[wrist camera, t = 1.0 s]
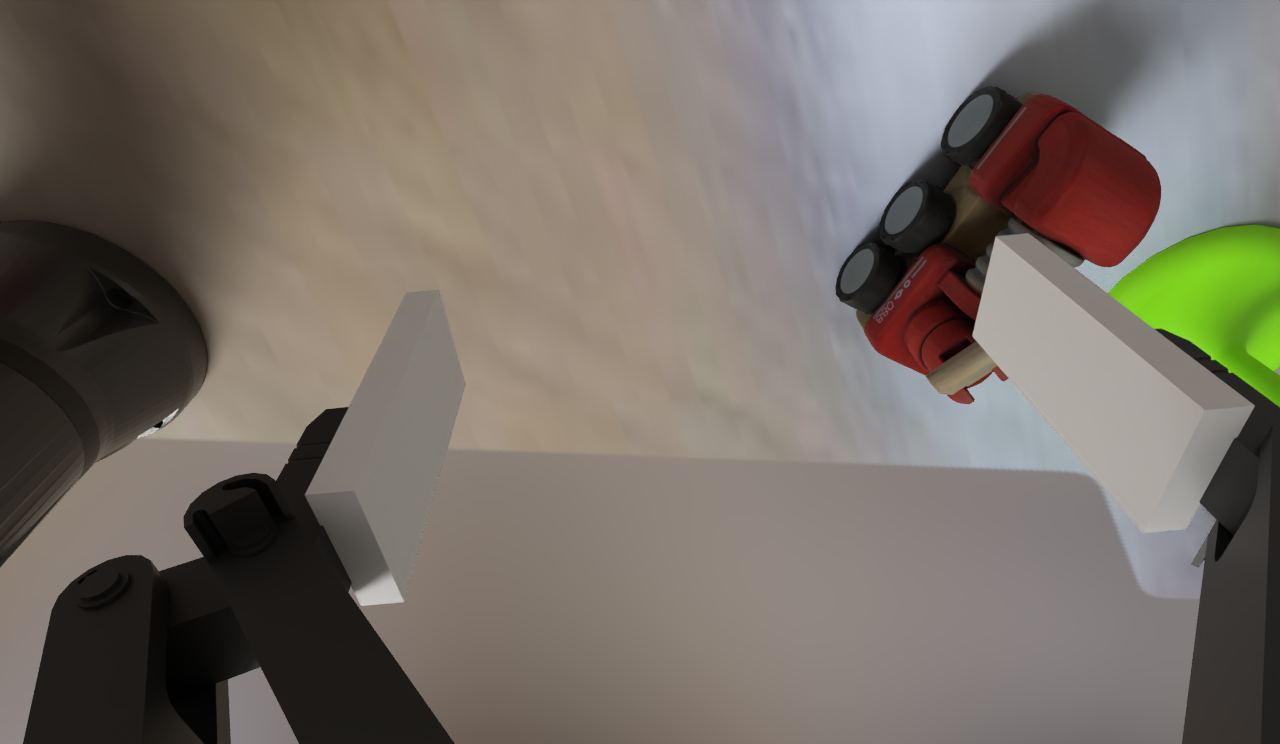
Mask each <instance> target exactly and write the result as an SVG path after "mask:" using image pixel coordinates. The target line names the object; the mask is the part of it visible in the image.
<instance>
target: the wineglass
mask: <svg viewBox="0 0 1280 744" xmlns="http://www.w3.org/2000/svg"><path fill="white" fill-rule="evenodd" d="M1108 294H1109V295H1110V296H1112V297H1113V298H1114V299H1115V300H1117V301H1118V302H1119V303H1121V304H1122V305H1123V306H1125V307H1126V308H1127V309H1129V310H1130V311H1131V312H1133V313H1134V314H1135V315H1136V316H1138V317H1139V318H1140V319H1142V320H1143V321H1144V322H1146V323H1147V324H1148V325H1150V326H1151V327H1152V328H1154V329H1160V328H1161V329H1164V330H1166V331H1168V332H1170V333H1173V334H1175V335H1177V336H1179V337H1182V338H1184V339H1186V340H1189V341H1190V342H1192V343H1193V344H1195V345H1196V346H1197V347H1199V348H1200V349H1201V350H1203V351H1204V352H1205V353H1207V354H1208V355H1210V356H1211V360H1216V361H1218V362H1219V363H1220V364H1222V365H1223V366H1224V367H1226V368H1227V369H1228V372H1229V373H1234V374H1235V375H1237V376H1238V377H1239V378H1241V379H1242V380H1244V381H1245V382H1246V383H1248V384H1249V385H1250V386H1252V387H1253V388H1254V389H1256V390H1257V391H1258V392H1260V393H1261V394H1263V395H1264V396H1265V397H1267V398H1268V399H1269V400H1271V401H1272V402H1273V403H1275V404H1276V405H1278V406H1279V407H1280V375H1278V374H1277V373H1275V371H1276V370H1277V369H1278V368H1279V367H1280V229H1279V228H1274V227H1268V226H1262V225H1257V224H1254V225H1243V226H1232V227H1222V228H1219V229H1216V230H1212V231H1209V232H1206V233H1203V234H1199V235H1196V236H1193V237H1190V238H1187V239H1185V240H1183V241H1181V242H1179V243H1177V244H1175V245H1173V246H1171V247H1169V248H1167V249H1165V250H1163V251H1161V252H1159V253H1157V254H1155V255H1153V256H1152V257H1151V258H1149V259H1148V260H1147V261H1145V262H1144V263H1142V264H1141V265H1140V266H1138V267H1137V268H1136V269H1134V270H1133V271H1132V272H1130V273H1129V274H1128V275H1126V276H1125V277H1124V278H1122V279H1121V280H1120V281H1119V282H1118V284H1117V285H1116V286H1115V287H1114V288H1113V289H1112V290H1111V291H1110V292H1109V293H1108Z"/></svg>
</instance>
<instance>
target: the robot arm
mask: <svg viewBox="0 0 1280 744" xmlns="http://www.w3.org/2000/svg"><path fill="white" fill-rule="evenodd" d="M972 337H973V338H974V339H975V340H976V341H977V342H978V344H979V345H980V346H981V347H982V348H983V349H984V350H985V352H986V353H987V354H988V355H989V356H990V357H991V359H992V360H993V361H994V362H995V363H996V364H997V365H998V367H999V368H1000V369H1001V370H1002V371H1003V372H1004V374H1005V375H1006V376H1007V377H1008V378H1009V379H1010V380H1011V382H1012V383H1013V384H1014V385H1015V386H1016V387H1017V388H1018V390H1019V391H1020V392H1021V393H1022V394H1023V395H1024V397H1025V398H1026V399H1027V400H1028V401H1029V402H1030V403H1031V405H1032V406H1033V407H1034V408H1035V409H1036V410H1037V412H1038V413H1039V414H1040V415H1041V416H1042V417H1043V418H1044V420H1045V421H1046V422H1047V423H1048V424H1049V425H1050V427H1051V428H1052V429H1053V430H1054V431H1055V432H1056V433H1057V435H1058V436H1059V437H1060V438H1061V439H1062V440H1063V442H1064V443H1065V444H1066V445H1067V446H1068V447H1069V448H1070V450H1071V451H1072V452H1073V453H1074V454H1075V455H1076V457H1077V458H1078V459H1079V460H1080V461H1081V462H1082V463H1083V465H1084V466H1085V467H1086V468H1087V469H1088V470H1089V471H1090V473H1091V474H1092V475H1093V476H1094V477H1095V478H1096V480H1097V481H1098V482H1099V483H1100V484H1101V485H1102V486H1103V488H1104V489H1105V490H1106V491H1107V492H1108V493H1109V495H1110V496H1111V497H1112V498H1113V499H1114V500H1115V501H1116V503H1117V504H1118V505H1119V506H1120V507H1121V508H1122V510H1123V511H1124V512H1125V513H1126V514H1127V515H1128V516H1129V518H1130V519H1131V520H1132V521H1133V522H1134V523H1135V525H1136V526H1137V527H1138V528H1139V529H1140V530H1141V531H1142V533H1150V532H1161V531H1172V530H1183V529H1187V527H1188V525H1189V524H1190V522H1191V520H1192V518H1193V516H1194V515H1195V513H1196V511H1197V509H1198V507H1199V506H1200V504H1202V505H1203V506H1204V507H1205V508H1206V509H1207V510H1208V511H1209V512H1210V513H1211V514H1212V515H1213V516H1214V517H1215V518H1216V519H1217V521H1216V523H1215V524H1214V526H1213V528H1212V529H1211V531H1210V533H1209V534H1208V536H1207V538H1206V540H1205V541H1204V543H1203V545H1202V546H1201V548H1200V550H1199V552H1198V553H1197V555H1196V557H1195V558H1194V560H1193V562H1192V563H1191V565H1194V566H1196V567H1199V566H1200V565H1201V563H1202V562H1203V560H1205V564H1204V572H1203V580H1202V588H1201V596H1200V604H1199V612H1198V620H1197V628H1196V636H1195V644H1194V652H1193V660H1192V668H1191V676H1190V685H1189V692H1188V700H1187V708H1186V716H1185V724H1184V732H1183V740H1182V744H1280V407H1279V406H1278V405H1276V404H1275V403H1273V402H1272V401H1271V400H1269V399H1268V398H1267V397H1265V396H1264V395H1263V394H1261V393H1260V392H1258V391H1257V390H1256V389H1254V388H1253V387H1252V386H1250V385H1249V384H1248V383H1246V382H1245V381H1244V380H1242V379H1241V378H1239V377H1238V376H1237V375H1235V374H1234V373H1229V372H1228V369H1227V368H1226V367H1224V366H1223V365H1222V364H1220V363H1219V362H1218V361H1216V360H1211V356H1210V355H1208V354H1207V353H1205V352H1204V351H1203V350H1201V349H1200V348H1199V347H1197V346H1196V345H1195V344H1193V343H1192V342H1190V341H1189V340H1186V339H1184V338H1182V337H1179V336H1177V335H1175V334H1173V333H1170V332H1168V331H1166V330H1164V329H1161V328H1160V329H1154V328H1152V327H1151V326H1150V325H1148V324H1147V323H1146V322H1144V321H1143V320H1142V319H1140V318H1139V317H1138V316H1136V315H1135V314H1134V313H1133V312H1131V311H1130V310H1129V309H1127V308H1126V307H1125V306H1123V305H1122V304H1121V303H1119V302H1118V301H1117V300H1115V299H1114V298H1113V297H1112V296H1110V295H1109V294H1108V293H1106V292H1105V291H1104V290H1102V289H1101V288H1100V287H1098V286H1097V285H1096V284H1094V283H1093V282H1092V281H1090V280H1089V279H1088V278H1087V277H1085V276H1084V275H1083V274H1081V273H1080V272H1079V271H1077V270H1076V269H1075V268H1073V267H1072V266H1071V265H1069V264H1068V263H1067V262H1066V261H1064V260H1063V259H1062V258H1060V257H1059V256H1058V255H1056V254H1055V253H1054V252H1052V251H1051V250H1050V249H1048V248H1047V247H1046V246H1044V245H1043V244H1042V243H1041V242H1039V241H1038V240H1037V239H1035V238H1034V237H1033V236H1031V235H1030V234H1029V233H1025V234H1015V235H1005V236H996V237H995V241H994V246H993V250H992V254H991V258H990V263H989V267H988V271H987V275H986V280H985V284H984V288H983V292H982V297H981V301H980V305H979V309H978V314H977V318H976V322H975V326H974V331H973V335H972ZM206 369H207V354H206V347H205V343H204V339H203V336H202V333H201V331H200V329H199V326H198V324H197V322H196V320H195V318H194V317H193V315H192V313H191V312H190V310H189V309H188V307H187V306H186V304H185V303H184V302H183V301H182V299H181V298H180V297H179V296H178V294H177V293H176V292H175V291H174V290H173V289H172V288H171V287H170V286H169V285H168V284H167V283H166V282H165V281H164V280H163V279H162V278H161V277H160V276H159V275H158V274H156V273H155V272H154V271H153V270H152V269H150V268H149V267H148V266H146V265H145V264H144V263H142V262H141V261H140V260H138V259H137V258H135V257H134V256H132V255H131V254H129V253H127V252H126V251H124V250H122V249H120V248H119V247H117V246H115V245H113V244H111V243H109V242H107V241H105V240H103V239H100V238H98V237H96V236H93V235H91V234H88V233H85V232H83V231H80V230H76V229H73V228H70V227H66V226H62V225H57V224H52V223H46V222H37V221H10V222H2V223H0V567H1V566H2V565H3V563H5V561H6V560H7V559H8V558H9V557H10V556H11V555H12V554H13V552H14V551H15V550H16V549H17V548H18V547H19V546H20V545H21V544H22V543H23V541H24V540H25V539H26V538H27V537H28V536H29V535H30V534H31V533H32V531H33V530H34V529H35V528H36V527H37V526H38V525H39V524H40V523H41V521H42V520H43V519H44V518H45V517H46V516H47V515H48V514H49V513H50V511H51V510H52V509H53V508H54V507H55V506H56V505H57V504H58V503H59V502H60V500H61V499H62V498H63V497H64V496H65V495H66V494H67V492H69V490H70V489H71V488H72V487H73V486H74V485H75V484H76V483H77V481H78V480H79V479H80V478H81V477H82V476H83V475H84V474H85V473H86V472H87V471H88V470H89V469H90V467H91V466H92V465H93V464H94V463H96V462H98V461H100V460H102V459H104V458H106V457H108V456H109V455H112V454H113V453H115V452H117V451H119V450H121V449H122V448H124V447H126V446H127V445H129V444H130V443H131V442H133V441H134V440H135V439H138V438H142V437H145V436H147V435H149V434H152V433H154V432H156V431H158V430H159V429H161V428H163V427H165V426H166V425H167V424H169V423H170V422H171V421H173V420H174V419H175V418H176V417H177V416H178V415H179V414H180V413H181V412H182V411H183V409H184V408H185V407H186V406H187V405H188V404H189V403H190V401H191V400H192V399H193V398H194V397H195V395H196V394H197V393H198V391H199V390H200V388H201V386H202V384H203V381H204V378H205V375H206ZM464 388H465V381H464V378H463V374H462V370H461V367H460V363H459V360H458V356H457V353H456V349H455V346H454V342H453V339H452V335H451V332H450V328H449V325H448V321H447V317H446V314H445V310H444V307H443V303H442V300H441V296H440V293H439V290H431V291H420V292H410V293H406V295H405V296H404V298H403V300H402V302H401V304H400V306H399V308H398V310H397V312H396V314H395V316H394V318H393V320H392V322H391V324H390V326H389V328H388V330H387V332H386V334H385V336H384V338H383V340H382V342H381V344H380V346H379V348H378V350H377V352H376V354H375V356H374V358H373V360H372V362H371V364H370V366H369V368H368V370H367V372H366V374H365V376H364V378H363V380H362V382H361V384H360V386H359V388H358V390H357V392H356V394H355V396H354V398H353V400H352V402H351V404H350V406H349V407H345V408H335V409H326V410H325V411H324V412H323V413H322V414H320V415H319V416H318V417H317V418H316V419H315V420H314V421H313V422H311V423H310V424H309V425H308V426H307V427H306V429H305V431H304V433H303V434H302V436H301V438H300V440H299V441H298V443H297V448H295V449H294V450H293V452H292V454H291V456H290V458H289V459H288V464H285V466H284V468H283V470H282V472H281V473H280V475H279V477H278V479H277V480H276V481H275V480H274V479H273V478H271V477H270V476H268V475H267V474H258V473H250V474H244V475H238V476H234V477H232V478H229V479H227V480H224V481H221V482H219V483H217V484H216V485H214V486H212V487H211V488H209V489H208V490H206V491H204V492H203V493H202V494H201V495H200V496H199V497H198V498H196V499H195V500H194V502H192V503H191V504H190V506H189V508H188V510H187V511H186V513H185V515H184V528H185V529H186V531H187V532H188V534H189V535H190V537H191V538H192V540H193V541H194V543H195V544H196V546H197V547H198V549H199V550H200V551H201V553H202V554H203V556H204V557H202V558H199V559H196V560H193V561H190V562H187V563H184V564H181V565H177V566H175V567H172V568H168V569H166V570H162V571H158V570H157V568H156V567H155V566H154V565H153V563H152V562H151V560H149V559H147V558H145V557H143V556H141V555H126V556H122V557H118V558H114V559H111V560H107V561H105V562H103V563H101V564H99V565H97V566H95V567H93V568H91V569H89V570H88V571H86V572H85V573H83V574H82V575H80V576H79V577H78V578H76V579H75V580H74V581H72V582H71V583H70V584H69V585H68V586H67V588H66V589H65V590H64V591H63V592H62V593H61V594H60V595H59V596H58V598H57V600H56V602H55V605H54V607H53V609H52V612H51V616H50V621H49V626H48V631H47V635H46V640H45V644H44V649H43V654H42V659H41V663H40V668H39V672H38V677H37V681H36V687H35V691H34V695H33V700H32V705H31V709H30V714H29V718H28V723H27V728H26V732H25V738H24V742H23V744H231V740H230V719H229V696H228V679H230V678H232V677H235V676H238V675H240V674H243V673H246V672H248V671H251V670H253V669H256V668H259V667H261V669H262V670H263V673H264V675H265V677H266V678H267V680H268V683H269V685H270V687H271V688H272V690H273V692H274V694H275V696H276V698H277V700H278V702H279V704H280V706H281V708H282V710H283V712H284V714H285V716H286V718H287V720H288V722H289V724H290V726H291V728H292V730H293V732H294V734H295V736H296V738H297V740H298V742H299V744H454V742H453V741H452V739H451V738H450V736H449V735H448V734H447V732H446V731H445V729H444V728H443V727H442V725H441V724H440V722H439V721H438V719H437V718H436V717H435V715H434V714H433V712H432V711H431V709H430V708H429V707H428V706H427V704H426V702H425V701H424V700H423V698H422V697H421V695H420V694H419V692H418V691H417V690H416V688H415V687H414V685H413V684H412V682H411V681H410V680H409V678H408V677H407V675H406V674H405V673H404V671H403V670H402V668H401V667H400V665H399V664H398V663H397V661H396V660H395V658H394V657H393V655H392V654H391V653H390V651H389V650H388V648H387V647H386V646H385V644H384V643H383V641H382V640H381V638H380V637H379V636H378V634H377V633H376V631H375V630H374V629H373V627H372V626H371V624H370V623H369V621H368V620H367V619H366V617H365V616H364V614H363V613H362V612H361V610H360V609H359V607H358V606H357V604H356V603H355V602H354V600H353V599H352V597H351V596H350V595H349V593H348V592H349V589H350V586H351V587H352V589H353V591H354V593H355V595H356V597H357V599H358V601H359V602H360V604H361V606H366V605H376V604H387V603H398V602H404V600H405V597H406V593H407V590H408V586H409V582H410V579H411V575H412V572H413V568H414V565H415V561H416V558H417V554H418V551H419V547H420V544H421V540H422V536H423V533H424V529H425V526H426V522H427V519H428V515H429V512H430V508H431V504H432V501H433V498H434V494H435V490H436V487H437V483H438V480H439V476H440V472H441V469H442V466H443V462H444V459H445V455H446V452H447V448H448V444H449V441H450V437H451V434H452V430H453V427H454V423H455V420H456V416H457V413H458V409H459V405H460V402H461V398H462V395H463V391H464Z"/></svg>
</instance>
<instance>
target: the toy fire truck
mask: <svg viewBox="0 0 1280 744" xmlns="http://www.w3.org/2000/svg"><path fill="white" fill-rule="evenodd" d="M941 147H942V151H943V154H945V155H946V156H948V157H949V158H950V159H952V160H953V161H956V162H957V163H959V164H961V165H962V166H961V167H960V169H959V170H958V171H957V173H956V174H955V175H954V177H953V178H952V179H951V181H950V182H949V183H948V185H947V186H946V187H945V189H944V190H941V189H940V188H938V187H936V186H935V185H933V184H930V183H929V182H927V181H924V180H921V179H919V180H914V181H912V182H910V183H908V184H907V185H905V186H904V187H902V188H901V189H900V190H899V191H898V192H897V193H896V194H895V196H894V197H893V198H892V199H891V202H890V203H889V204H888V206H887V207H886V209H885V211H884V214H883V216H882V219H881V222H880V230H879V234H880V238H881V240H882V241H883V242H884V243H885V244H886V245H889V246H891V247H893V248H895V249H897V251H896V252H895V253H894V254H893V253H891V252H889V251H887V250H886V249H885V248H883V247H881V246H879V245H878V244H875V243H872V242H871V243H865V244H862V245H861V246H859V247H858V248H857V249H856V250H855V251H854V252H853V253H852V254H851V255H850V256H849V257H848V258H847V260H846V261H845V263H844V265H843V266H842V268H841V270H840V272H839V275H838V278H837V282H836V295H837V296H838V297H839V299H840V301H841V302H844V303H846V304H848V305H849V306H851V307H854V308H855V309H857V312H856V316H857V319H858V321H859V323H860V325H861V326H862V328H863V330H864V332H865V335H866V336H867V338H868V340H869V341H870V343H871V345H872V346H873V347H874V349H875V350H876V351H877V352H878V353H880V354H881V355H883V356H885V357H887V358H889V359H891V360H893V361H896V362H898V363H900V364H902V365H904V366H906V367H908V368H911V369H913V370H915V371H917V372H919V373H922V374H924V375H926V377H927V379H928V380H929V382H930V383H931V385H932V386H933V387H934V388H935V389H936V390H937V392H938V393H940V394H947V395H948V396H949V397H950V398H951V399H952V400H954V401H956V402H958V403H963V404H970V403H972V402H974V398H973V397H972V395H971V394H970V393H969V391H968V390H967V388H970V387H973V386H975V385H977V384H979V383H981V382H983V381H984V380H985V379H986V378H988V377H989V376H990V375H991V374H992V372H995V373H996V375H997V376H998V377H999V378H1000V379H1001V380H1002V381H1005V380H1007V379H1008V377H1007V376H1006V375H1005V374H1004V372H1003V371H1002V370H1001V369H1000V368H999V367H998V365H997V364H996V363H995V362H994V361H993V360H992V359H991V357H990V356H989V355H988V354H987V353H986V352H985V350H984V349H983V348H982V347H981V346H980V345H979V344H978V342H977V341H976V340H975V339H974V338H973V337H972V335H973V331H974V326H975V322H976V318H977V314H978V309H979V305H980V301H981V297H982V292H983V288H984V284H985V280H986V275H987V271H988V267H989V263H990V258H991V254H992V250H993V246H994V241H995V237H996V236H1005V235H1015V234H1025V233H1029V234H1030V235H1031V236H1033V237H1034V238H1035V239H1037V240H1038V241H1039V242H1041V243H1042V244H1043V245H1044V246H1046V247H1047V248H1048V249H1050V250H1051V251H1052V252H1054V253H1055V254H1056V255H1058V256H1059V257H1060V258H1062V259H1063V260H1064V261H1066V262H1067V263H1068V264H1069V265H1071V266H1072V267H1078V266H1080V265H1081V264H1082V263H1083V261H1084V260H1085V259H1086V260H1088V261H1090V262H1092V263H1094V264H1096V265H1098V266H1102V267H1112V266H1116V265H1118V264H1119V263H1121V262H1122V261H1123V260H1124V259H1125V258H1126V257H1127V256H1128V255H1129V254H1130V253H1131V252H1132V251H1133V250H1134V249H1135V248H1136V247H1137V246H1138V244H1139V243H1140V242H1141V241H1142V239H1143V238H1144V237H1145V235H1146V234H1147V232H1148V230H1149V229H1150V227H1151V225H1152V223H1153V221H1154V219H1155V217H1156V215H1157V212H1158V209H1159V205H1160V199H1161V185H1160V180H1159V177H1158V174H1157V172H1156V170H1155V169H1154V167H1153V166H1152V165H1151V164H1150V162H1149V161H1147V159H1146V157H1145V156H1144V155H1143V154H1141V153H1140V152H1139V151H1137V150H1136V149H1135V148H1133V147H1132V146H1130V145H1129V144H1127V143H1126V142H1124V141H1123V140H1122V139H1120V138H1118V137H1117V136H1115V135H1114V134H1112V133H1110V132H1109V131H1107V130H1106V129H1104V128H1103V127H1101V126H1100V125H1098V124H1097V123H1095V122H1094V121H1092V120H1091V119H1089V118H1088V117H1086V116H1085V115H1083V114H1082V113H1081V112H1079V111H1078V110H1076V109H1075V108H1073V107H1071V106H1069V105H1068V104H1066V103H1064V102H1062V101H1060V100H1058V99H1056V98H1053V97H1051V96H1049V95H1043V94H1038V93H1035V92H1029V93H1026V94H1024V95H1022V96H1020V97H1018V98H1017V99H1015V98H1014V97H1012V96H1011V95H1009V94H1007V93H1006V92H1005V91H1003V90H1001V89H999V88H998V87H986V88H982V89H981V90H979V91H977V92H976V93H974V94H973V95H971V96H970V97H969V98H968V99H967V100H966V101H965V102H964V103H963V104H962V105H961V106H960V107H959V108H958V109H957V111H956V112H955V113H954V115H953V117H952V118H951V120H950V121H949V123H948V125H947V126H946V128H945V131H944V133H943V138H942V141H941Z"/></svg>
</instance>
